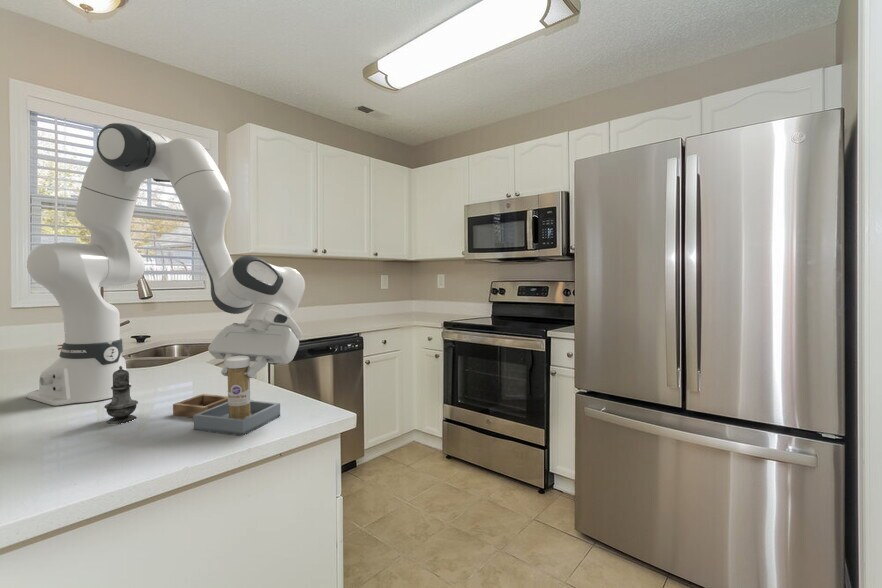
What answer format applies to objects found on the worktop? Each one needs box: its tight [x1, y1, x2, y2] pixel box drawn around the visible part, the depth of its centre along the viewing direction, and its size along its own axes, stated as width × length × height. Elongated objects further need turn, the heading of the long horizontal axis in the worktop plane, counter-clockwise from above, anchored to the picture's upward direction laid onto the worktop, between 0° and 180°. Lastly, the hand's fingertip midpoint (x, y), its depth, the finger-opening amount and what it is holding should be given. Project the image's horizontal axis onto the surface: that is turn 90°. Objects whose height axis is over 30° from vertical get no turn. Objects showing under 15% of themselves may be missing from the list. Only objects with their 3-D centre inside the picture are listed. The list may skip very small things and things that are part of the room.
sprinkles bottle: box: [226, 356, 251, 419], centre depth 91 cm, size 5×5×13 cm
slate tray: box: [193, 399, 281, 436], centre depth 92 cm, size 12×12×3 cm
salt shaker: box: [103, 366, 139, 425], centre depth 92 cm, size 6×6×12 cm
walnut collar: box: [172, 393, 228, 419], centre depth 99 cm, size 9×9×2 cm
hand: (236, 375), depth 91 cm, fingers closed on sprinkles bottle, 4 cm apart
